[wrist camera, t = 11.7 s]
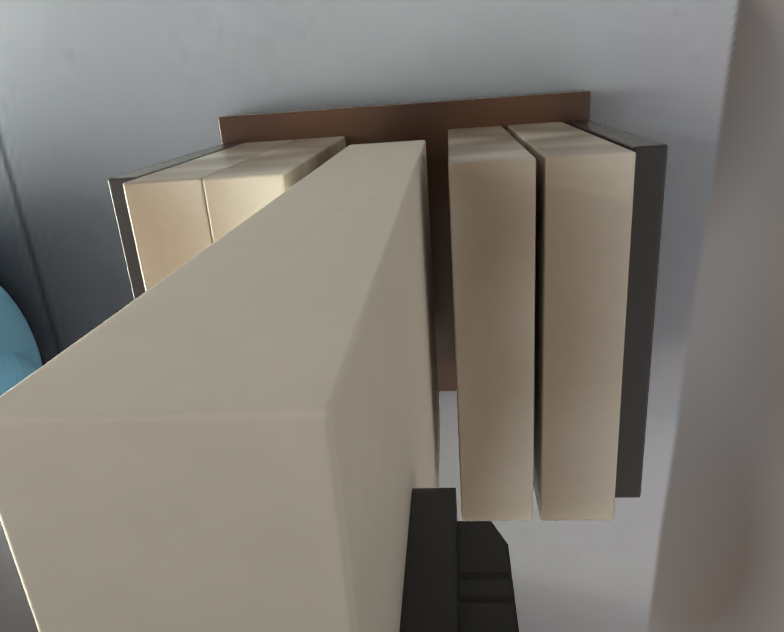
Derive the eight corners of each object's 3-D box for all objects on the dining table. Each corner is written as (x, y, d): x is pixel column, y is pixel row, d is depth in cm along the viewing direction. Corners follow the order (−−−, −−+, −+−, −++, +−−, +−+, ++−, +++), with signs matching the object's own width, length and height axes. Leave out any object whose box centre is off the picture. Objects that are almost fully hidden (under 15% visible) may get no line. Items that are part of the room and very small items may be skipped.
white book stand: (584, 90, 24) (687, 101, 14) (574, 375, 28) (648, 550, 18) (227, 115, 26) (75, 142, 15) (268, 383, 30) (171, 550, 19)
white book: (425, 139, 20) (331, 411, 4) (440, 423, 23) (422, 1184, 7) (348, 144, 20) (-39, 419, 4) (374, 425, 23) (219, 1163, 8)
